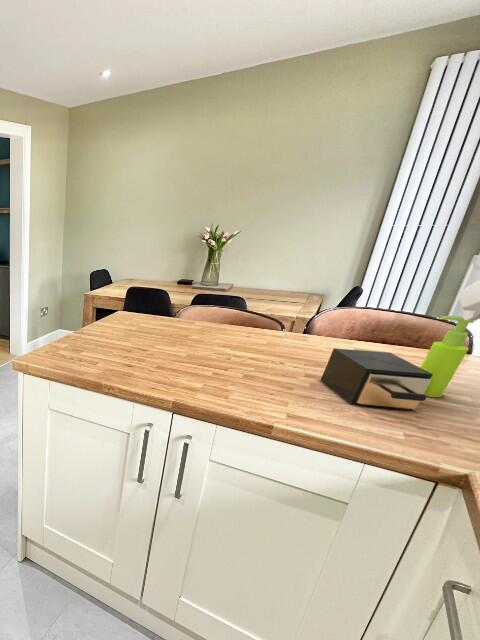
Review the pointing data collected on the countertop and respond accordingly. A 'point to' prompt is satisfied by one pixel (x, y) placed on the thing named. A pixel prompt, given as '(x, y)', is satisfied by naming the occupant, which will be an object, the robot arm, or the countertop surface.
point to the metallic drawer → (393, 390)
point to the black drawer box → (363, 371)
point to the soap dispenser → (446, 357)
